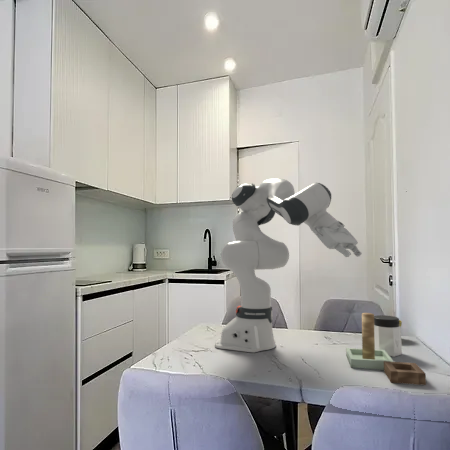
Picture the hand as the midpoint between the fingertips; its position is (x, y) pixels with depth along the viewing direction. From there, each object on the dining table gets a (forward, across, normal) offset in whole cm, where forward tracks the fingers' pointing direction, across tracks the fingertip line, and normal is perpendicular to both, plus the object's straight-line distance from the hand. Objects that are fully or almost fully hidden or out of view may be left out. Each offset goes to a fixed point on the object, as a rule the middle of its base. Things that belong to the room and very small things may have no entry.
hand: (354, 255), depth 116 cm
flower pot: (+24, +31, +24) cm, 46 cm away
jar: (+28, +11, +20) cm, 36 cm away
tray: (+27, -4, +20) cm, 34 cm away
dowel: (+26, -4, +20) cm, 33 cm away
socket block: (+36, -11, +12) cm, 39 cm away
